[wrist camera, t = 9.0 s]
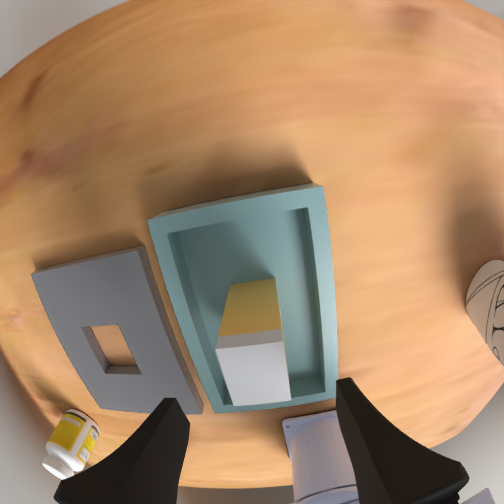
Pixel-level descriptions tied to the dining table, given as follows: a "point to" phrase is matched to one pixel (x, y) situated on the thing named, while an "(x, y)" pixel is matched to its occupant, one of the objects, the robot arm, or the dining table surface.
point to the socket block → (131, 325)
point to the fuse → (253, 345)
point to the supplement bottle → (70, 444)
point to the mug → (488, 305)
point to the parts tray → (254, 269)
